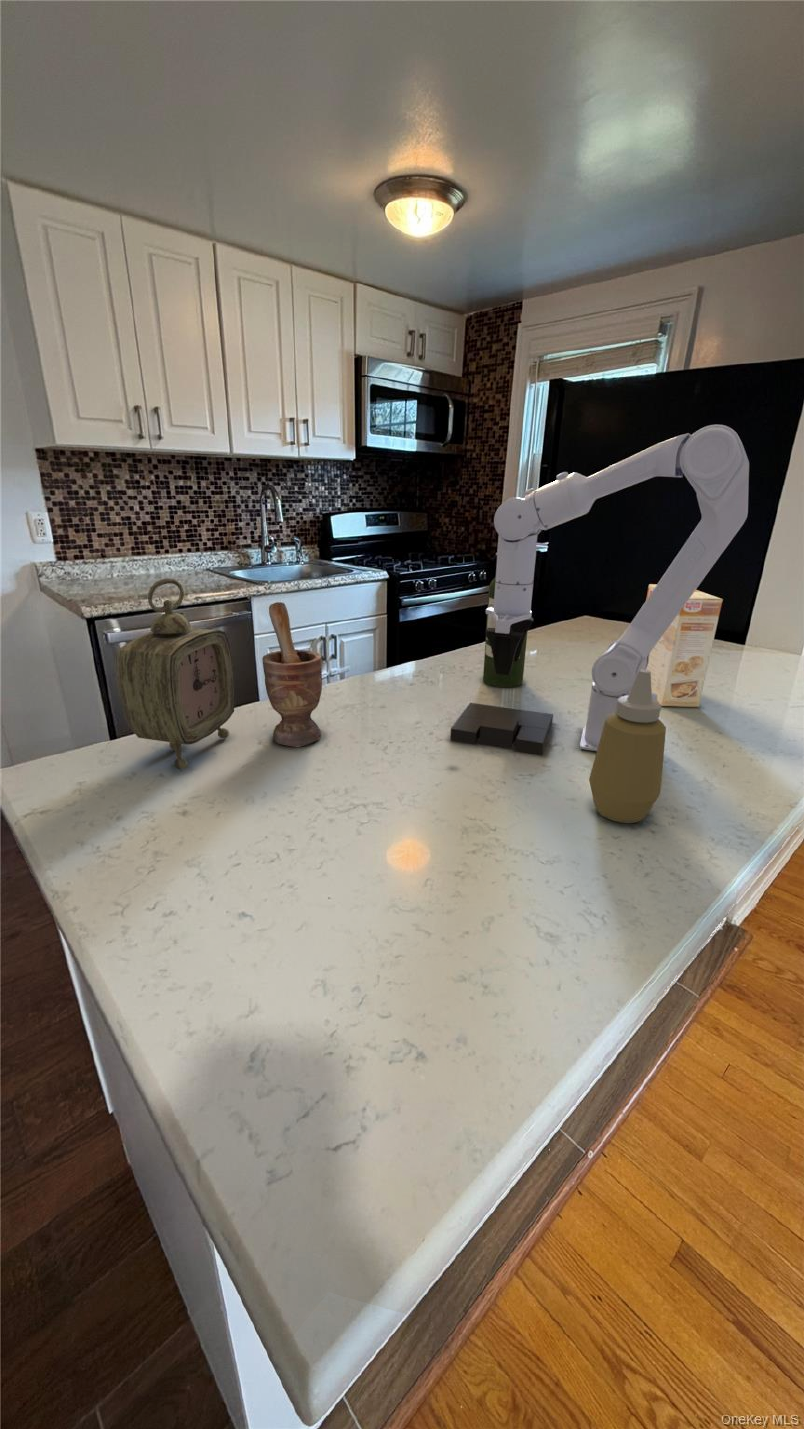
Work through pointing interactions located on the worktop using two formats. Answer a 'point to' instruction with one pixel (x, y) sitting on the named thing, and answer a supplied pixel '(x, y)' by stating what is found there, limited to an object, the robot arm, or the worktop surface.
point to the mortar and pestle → (292, 684)
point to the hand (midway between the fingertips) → (507, 667)
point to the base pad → (530, 723)
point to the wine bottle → (489, 670)
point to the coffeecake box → (684, 651)
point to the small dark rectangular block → (498, 732)
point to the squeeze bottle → (630, 756)
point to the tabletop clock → (176, 680)
